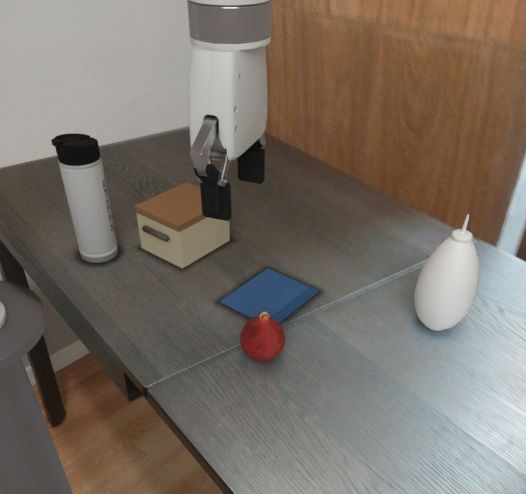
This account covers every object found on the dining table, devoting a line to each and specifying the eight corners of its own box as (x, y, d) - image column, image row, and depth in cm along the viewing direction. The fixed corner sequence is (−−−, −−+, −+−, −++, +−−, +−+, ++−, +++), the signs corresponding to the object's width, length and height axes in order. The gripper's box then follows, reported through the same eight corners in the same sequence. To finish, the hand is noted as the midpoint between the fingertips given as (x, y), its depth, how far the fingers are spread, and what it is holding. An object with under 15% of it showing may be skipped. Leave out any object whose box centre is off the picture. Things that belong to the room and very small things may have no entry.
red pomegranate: (255, 380, 69) (256, 333, 64) (232, 355, 73) (231, 308, 67) (291, 364, 72) (295, 317, 66) (267, 340, 75) (269, 294, 70)
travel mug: (71, 254, 91) (42, 135, 78) (105, 240, 95) (82, 124, 81) (91, 268, 88) (64, 147, 74) (125, 254, 91) (105, 135, 78)
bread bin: (178, 271, 88) (173, 228, 82) (136, 250, 92) (129, 207, 87) (230, 240, 96) (229, 198, 90) (189, 222, 100) (186, 181, 95)
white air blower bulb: (473, 333, 77) (515, 220, 66) (433, 349, 74) (469, 235, 63) (435, 304, 83) (467, 195, 71) (396, 319, 80) (423, 207, 68)
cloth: (271, 329, 77) (271, 326, 77) (219, 302, 82) (219, 299, 81) (317, 292, 84) (318, 289, 84) (268, 269, 89) (268, 267, 88)
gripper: (230, 4, 56) (234, 164, 67) (145, 39, 44) (168, 227, 55) (298, 10, 54) (291, 174, 65) (230, 48, 42) (235, 241, 53)
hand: (235, 198), depth 60 cm, fingers open, 9 cm apart
